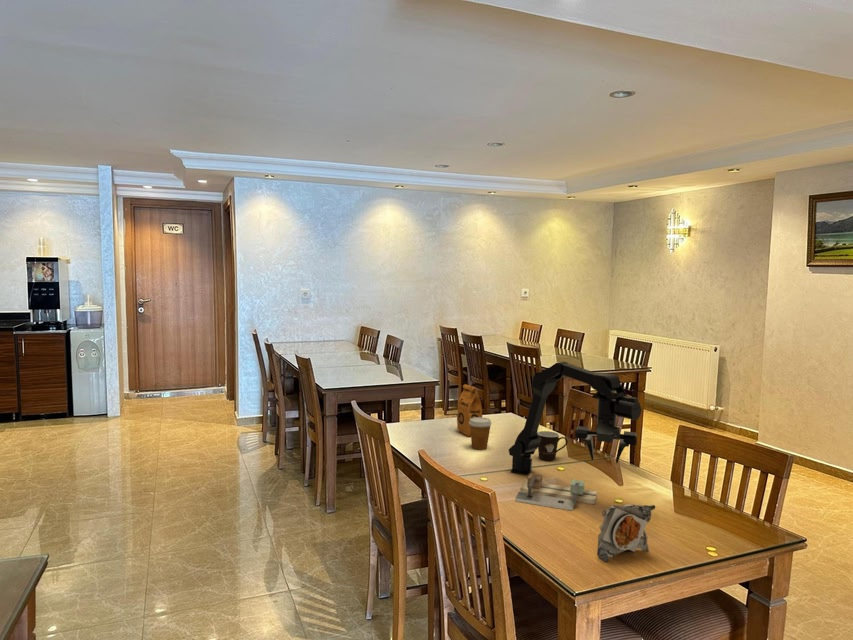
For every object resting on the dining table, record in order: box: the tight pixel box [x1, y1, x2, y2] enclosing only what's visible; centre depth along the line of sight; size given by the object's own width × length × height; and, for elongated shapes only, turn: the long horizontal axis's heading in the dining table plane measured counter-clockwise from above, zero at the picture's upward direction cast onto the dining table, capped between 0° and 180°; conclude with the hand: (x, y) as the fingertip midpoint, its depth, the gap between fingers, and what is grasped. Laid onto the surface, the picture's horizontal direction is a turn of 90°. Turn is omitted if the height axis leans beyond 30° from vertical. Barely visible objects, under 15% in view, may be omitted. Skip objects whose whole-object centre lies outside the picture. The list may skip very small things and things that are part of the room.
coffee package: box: [456, 383, 483, 438], centre depth 256 cm, size 10×12×22 cm
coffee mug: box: [537, 430, 569, 462], centre depth 223 cm, size 12×9×10 cm
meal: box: [596, 503, 656, 564], centre depth 146 cm, size 15×4×13 cm, turn 113°
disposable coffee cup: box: [469, 416, 492, 451], centre depth 235 cm, size 10×10×12 cm
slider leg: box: [569, 479, 586, 504], centre depth 181 cm, size 4×12×3 cm, turn 159°
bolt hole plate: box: [514, 491, 576, 512], centre depth 180 cm, size 18×6×1 cm, turn 69°
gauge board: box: [519, 472, 598, 505], centre depth 184 cm, size 24×14×5 cm, turn 69°
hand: (604, 461), depth 181 cm, fingers open, 7 cm apart
